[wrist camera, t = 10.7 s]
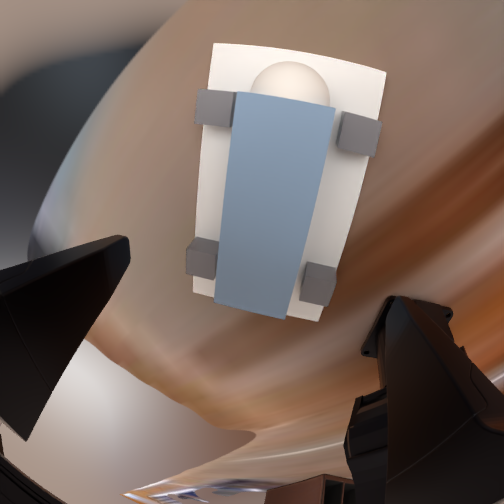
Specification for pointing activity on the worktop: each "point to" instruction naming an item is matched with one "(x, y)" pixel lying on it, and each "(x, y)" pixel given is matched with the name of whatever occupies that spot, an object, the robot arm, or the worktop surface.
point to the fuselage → (271, 186)
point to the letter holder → (314, 491)
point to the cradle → (333, 177)
